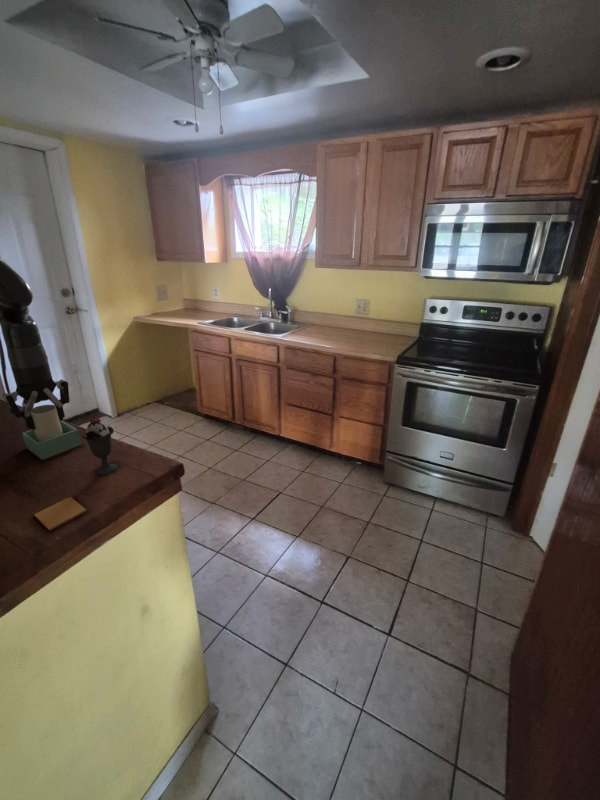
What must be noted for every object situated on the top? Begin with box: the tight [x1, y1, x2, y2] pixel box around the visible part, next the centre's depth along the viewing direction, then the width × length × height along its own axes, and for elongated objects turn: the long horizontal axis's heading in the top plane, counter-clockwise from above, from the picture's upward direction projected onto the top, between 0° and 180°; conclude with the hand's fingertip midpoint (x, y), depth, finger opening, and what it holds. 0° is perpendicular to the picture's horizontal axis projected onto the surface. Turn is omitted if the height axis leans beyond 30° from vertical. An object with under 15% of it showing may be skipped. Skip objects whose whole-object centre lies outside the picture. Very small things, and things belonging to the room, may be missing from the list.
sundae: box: [81, 409, 118, 476], centre depth 87 cm, size 7×7×15 cm
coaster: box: [33, 496, 88, 532], centre depth 75 cm, size 7×7×1 cm
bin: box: [21, 420, 82, 461], centre depth 98 cm, size 10×10×5 cm
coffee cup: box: [30, 404, 63, 443], centre depth 96 cm, size 6×6×9 cm
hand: (46, 424), depth 96 cm, fingers closed on coffee cup, 6 cm apart
